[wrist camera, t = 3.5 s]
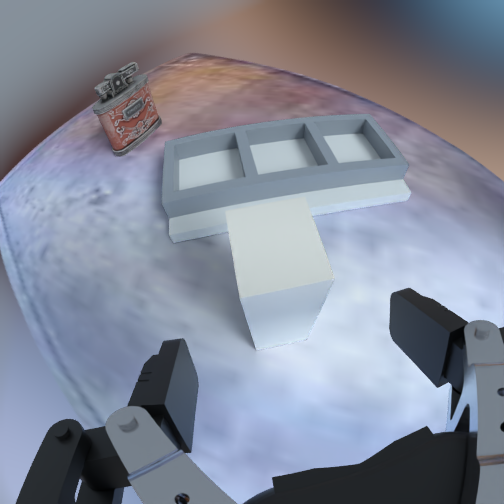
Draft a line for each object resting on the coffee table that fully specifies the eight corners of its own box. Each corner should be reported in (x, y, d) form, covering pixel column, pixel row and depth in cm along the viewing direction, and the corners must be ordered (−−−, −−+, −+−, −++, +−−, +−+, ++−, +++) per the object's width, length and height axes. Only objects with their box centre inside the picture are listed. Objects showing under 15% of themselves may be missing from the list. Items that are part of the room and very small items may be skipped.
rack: (358, 127, 30) (362, 106, 27) (407, 200, 24) (418, 177, 21) (173, 154, 30) (165, 132, 27) (173, 243, 23) (161, 220, 21)
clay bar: (293, 288, 21) (304, 196, 12) (306, 339, 19) (334, 278, 10) (246, 297, 21) (224, 210, 12) (256, 350, 19) (239, 298, 10)
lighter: (124, 159, 30) (93, 91, 22) (109, 154, 31) (79, 91, 23) (167, 121, 34) (147, 57, 25) (150, 118, 35) (130, 58, 26)
